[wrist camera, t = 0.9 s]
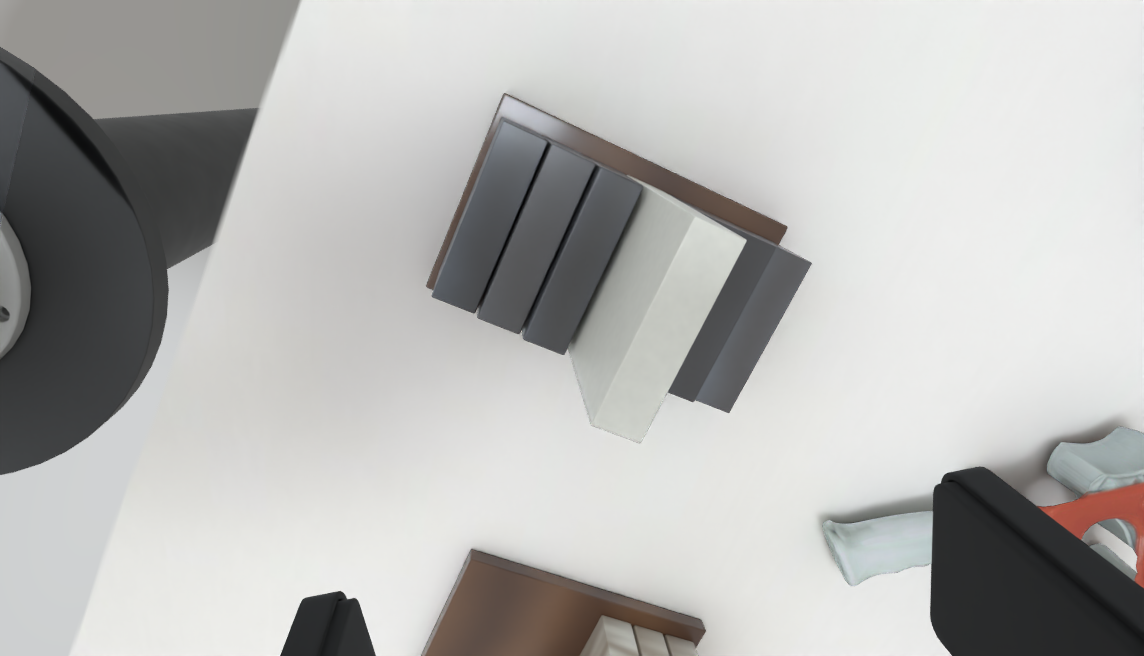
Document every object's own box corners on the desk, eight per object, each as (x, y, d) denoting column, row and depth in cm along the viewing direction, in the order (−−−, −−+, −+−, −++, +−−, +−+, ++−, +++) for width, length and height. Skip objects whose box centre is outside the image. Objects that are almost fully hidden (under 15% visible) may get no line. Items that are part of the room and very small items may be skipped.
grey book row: (427, 282, 35) (413, 322, 29) (503, 92, 33) (506, 92, 27) (693, 387, 39) (731, 443, 33) (781, 223, 36) (839, 250, 30)
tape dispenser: (788, 524, 44) (1003, 664, 48) (818, 579, 39) (1055, 730, 43) (990, 307, 40) (1208, 482, 44) (1053, 339, 35) (1292, 532, 39)
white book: (559, 319, 36) (590, 425, 24) (626, 174, 34) (694, 215, 22) (594, 333, 36) (640, 444, 25) (662, 191, 34) (747, 240, 23)
